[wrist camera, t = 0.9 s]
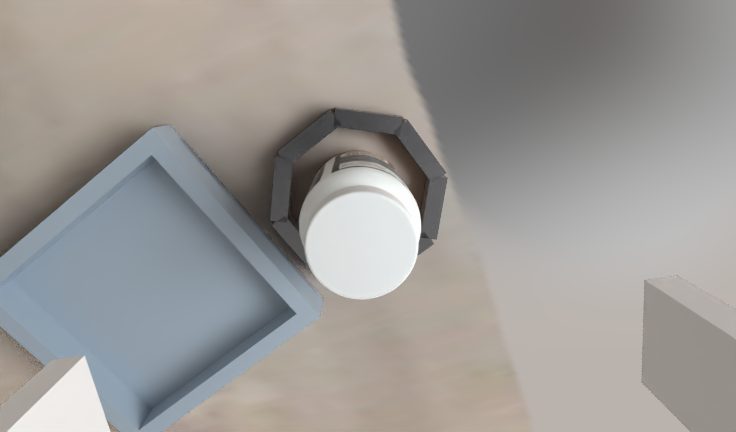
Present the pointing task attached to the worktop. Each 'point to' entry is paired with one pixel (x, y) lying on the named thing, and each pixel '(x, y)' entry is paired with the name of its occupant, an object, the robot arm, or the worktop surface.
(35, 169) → the worktop surface
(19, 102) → the worktop surface
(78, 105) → the worktop surface
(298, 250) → the ring
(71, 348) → the tray
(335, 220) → the pill bottle
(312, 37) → the worktop surface
